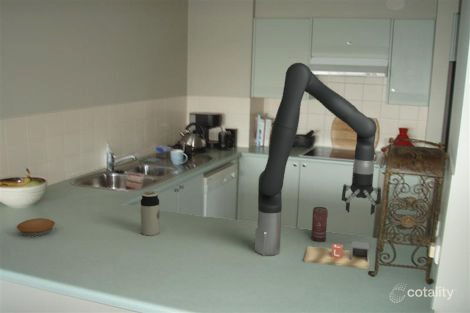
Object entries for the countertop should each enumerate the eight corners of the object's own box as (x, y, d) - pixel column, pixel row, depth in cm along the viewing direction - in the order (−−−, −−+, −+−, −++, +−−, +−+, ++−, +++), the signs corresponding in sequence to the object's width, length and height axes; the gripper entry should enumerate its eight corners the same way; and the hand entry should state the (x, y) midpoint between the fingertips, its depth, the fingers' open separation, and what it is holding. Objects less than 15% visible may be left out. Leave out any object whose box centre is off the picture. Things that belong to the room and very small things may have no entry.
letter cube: (331, 257, 185) (332, 247, 185) (332, 253, 189) (332, 243, 189) (342, 258, 184) (342, 248, 184) (342, 254, 188) (343, 244, 188)
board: (303, 261, 184) (304, 259, 183) (307, 248, 197) (307, 246, 197) (369, 269, 178) (369, 266, 178) (368, 255, 191) (368, 252, 191)
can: (326, 242, 204) (328, 211, 201) (311, 241, 205) (312, 209, 202) (326, 237, 210) (328, 206, 207) (311, 236, 211) (313, 205, 208)
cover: (350, 260, 183) (351, 246, 182) (350, 254, 189) (351, 241, 188) (368, 262, 182) (369, 248, 181) (367, 256, 187) (368, 242, 186)
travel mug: (137, 234, 210) (136, 194, 207) (147, 228, 217) (147, 190, 214) (153, 236, 207) (152, 196, 204) (162, 231, 214) (162, 192, 211)
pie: (55, 236, 206) (55, 225, 205) (16, 240, 200) (15, 229, 200) (55, 225, 220) (54, 214, 219) (18, 229, 215) (17, 218, 214)
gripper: (343, 171, 178) (340, 213, 181) (383, 174, 174) (379, 217, 177) (344, 167, 185) (341, 208, 188) (382, 170, 182) (379, 212, 185)
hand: (359, 212), depth 183 cm, fingers open, 8 cm apart
